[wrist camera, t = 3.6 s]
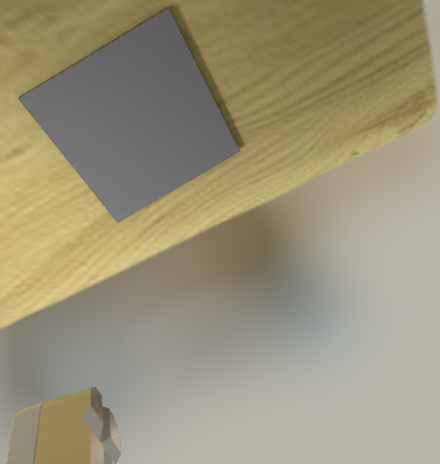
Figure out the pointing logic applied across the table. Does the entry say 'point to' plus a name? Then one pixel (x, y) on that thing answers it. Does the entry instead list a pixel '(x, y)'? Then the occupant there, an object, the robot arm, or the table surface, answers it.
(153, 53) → the charcoal mat
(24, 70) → the table surface
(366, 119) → the table surface
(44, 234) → the table surface
